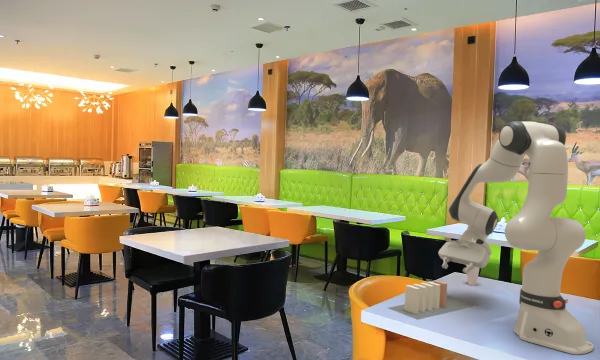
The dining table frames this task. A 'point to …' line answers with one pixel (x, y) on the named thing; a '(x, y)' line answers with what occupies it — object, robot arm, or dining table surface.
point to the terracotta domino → (442, 293)
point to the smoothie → (473, 276)
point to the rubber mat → (451, 305)
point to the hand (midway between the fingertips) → (454, 270)
